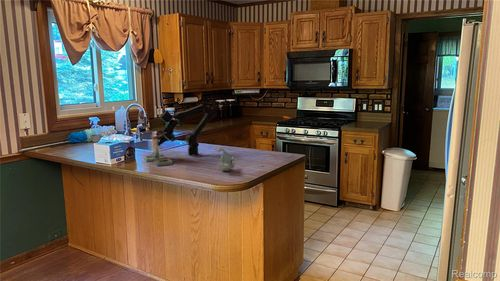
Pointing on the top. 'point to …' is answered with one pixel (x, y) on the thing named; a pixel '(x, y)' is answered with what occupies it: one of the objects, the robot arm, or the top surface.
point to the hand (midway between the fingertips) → (156, 144)
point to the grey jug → (226, 160)
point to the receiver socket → (163, 162)
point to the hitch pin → (155, 146)
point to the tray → (150, 158)
